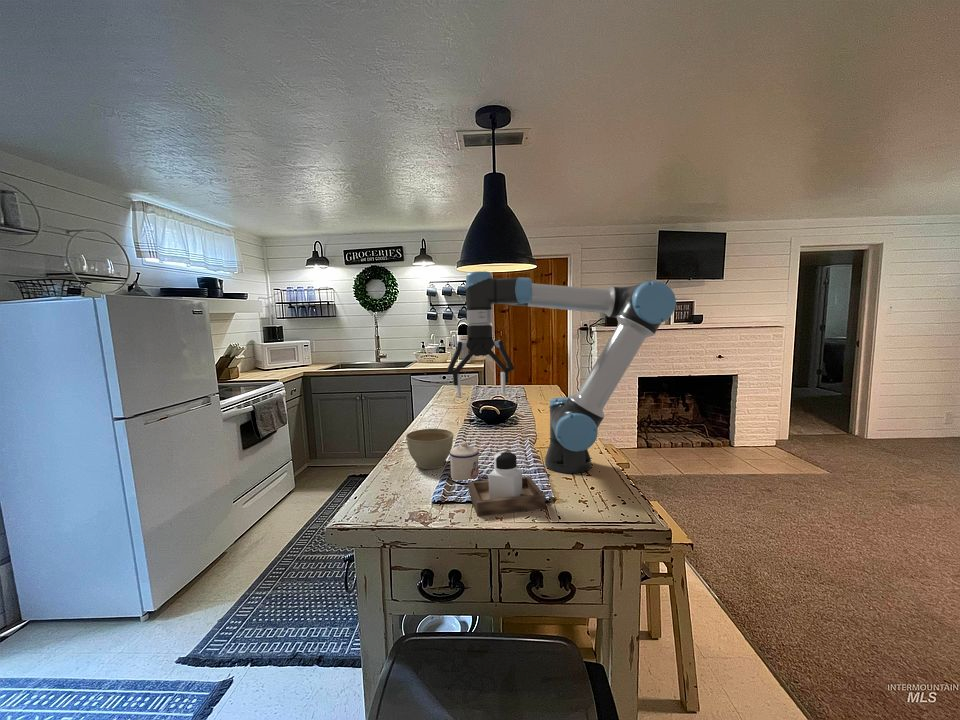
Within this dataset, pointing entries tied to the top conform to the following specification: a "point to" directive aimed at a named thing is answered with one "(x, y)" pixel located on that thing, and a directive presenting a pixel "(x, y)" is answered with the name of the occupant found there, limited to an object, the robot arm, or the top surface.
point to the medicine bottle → (505, 477)
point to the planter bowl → (429, 447)
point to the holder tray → (506, 499)
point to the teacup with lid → (464, 462)
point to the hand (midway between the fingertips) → (481, 395)
